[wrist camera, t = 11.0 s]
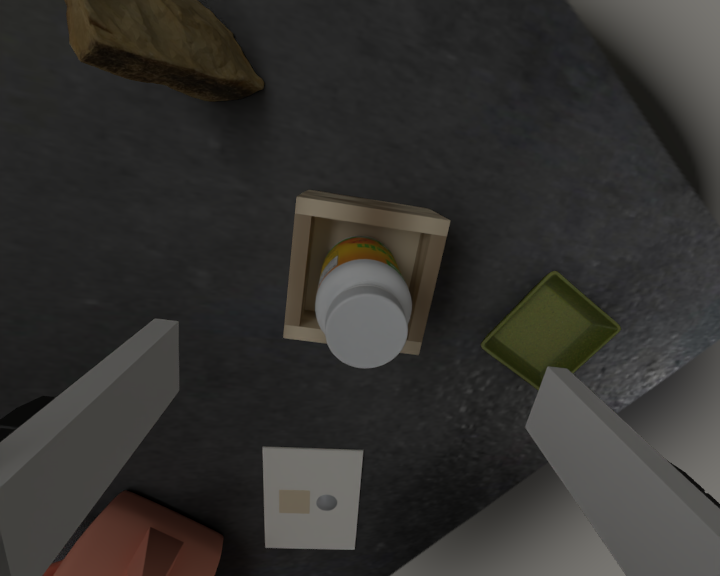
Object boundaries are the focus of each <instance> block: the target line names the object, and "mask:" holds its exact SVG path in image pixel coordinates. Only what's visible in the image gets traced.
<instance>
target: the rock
mask: <svg viewBox="0 0 720 576" xmlns="http://www.w3.org/2000/svg"><path fill="white" fill-rule="evenodd" d="M64 1H65V3H66V5H67V13H66V16H67V24H68V30H69V41H70V45H71V47H72V49H73V50H74V52H75V53H76V55H77V57H78V59H79V60H80V61H81V62H83V63H86V64H89V65H91V66H95V67H97V68H100V69H102V70H104V71H108V72H110V73H112V74H114V75H118V76H121V77H124V78H127V79H130V80H135V81H140V82H146V83H156V84H163V85H167V86H168V87H170V88H172V89H174V90H176V91H179V92H182V93H184V94H186V95H189V96H191V97H194V98H198V99H201V100H204V101H227V100H238V99H242V98H245V97H247V96H250V95H251V94H253V93H255V92H256V91H259V90H262V89H263V88H264V81H263V80H262V79H261V78H260V77H259V76H257V74H256V73H255V72H254V70H253V69H252V67H251V65H250V63H249V62H248V60H247V59H246V57H245V56H244V54H243V52H242V50H241V47H240V46H239V44H238V43H237V42H236V40H235V39H234V38H233V33H232V32H231V31H230V30H229V29H228V28H226V27H225V25H224V24H222V23H221V22H220V21H219V20H218V19H217V18H216V17H215V15H214V14H213V13H212V12H211V11H210V10H209V9H207V8H205V7H204V6H203V5H202V4H201V3H200V2H199V1H197V0H64Z"/></svg>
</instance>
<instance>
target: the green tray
mask: <svg viewBox="0 0 720 576" xmlns="http://www.w3.org/2000/svg"><path fill="white" fill-rule="evenodd" d="M620 330H621V327H620V325H619V324H617V323H616V322H615V321H614V320H613V319H612V318H611V317H609V316H608V315H607V314H606V313H605V312H604V311H602V310H601V309H600V308H599V307H598V306H596V305H595V304H594V303H593V302H592V301H591V300H589V299H588V298H587V297H586V296H585V295H584V294H583V293H582V292H580V291H579V290H578V289H577V288H576V287H575V286H573V285H572V284H571V283H570V282H569V281H568V280H566V278H564V277H563V276H562V275H561V274H560V273H558V272H557V271H552V272H550V273H549V274H547V275H546V276H545V277H544V278H543V279H542V280H541V281H540V282H539V283H538V284H537V285H536V286H535V287H534V288H533V289H532V290H531V291H530V292H529V293H528V294H527V295H526V296H525V297H524V298H523V299H522V300H521V301H520V302H519V304H518V305H517V306H516V307H515V308H514V309H513V310H512V311H511V312H510V313H509V314H508V315H507V316H506V317H505V318H504V319H503V320H502V321H501V322H500V323H499V324H498V325H497V326H496V327H495V328H494V329H493V330H492V331H491V332H490V333H489V334H488V335H487V336H486V337H485V338H484V340H483V341H482V343H481V347H482V349H483V350H485V351H486V352H487V353H488V354H490V355H491V356H493V357H494V358H495V359H497V360H498V361H499V362H501V363H502V364H504V365H505V366H506V367H508V368H509V369H510V370H512V371H513V372H515V373H516V374H517V375H518V376H520V377H521V378H522V379H524V380H525V381H526V382H528V383H529V384H530V385H532V386H533V387H534V388H536V389H537V390H538V391H539V388H540V385H541V383H542V380H543V377H544V375H545V372H546V369H547V367H548V366H549V367H558V368H566V369H568V370H569V371H570V372H571V373H572V374H573V373H574V372H575V371H576V370H577V369H579V368H580V367H581V366H582V365H583V364H584V363H585V362H586V361H588V360H589V359H590V358H591V357H592V356H593V355H594V354H595V353H596V352H598V351H599V350H600V349H601V348H602V347H603V346H604V345H605V344H606V343H608V342H609V341H610V340H611V339H612V338H613V337H614V336H615V335H616V334H617V333H619V332H620Z"/></svg>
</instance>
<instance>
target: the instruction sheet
mask: <svg viewBox="0 0 720 576" xmlns="http://www.w3.org/2000/svg"><path fill="white" fill-rule="evenodd" d="M362 461H363V450H350V449H321V448H292V447H264V446H263V483H264V520H265V548H297V549H343V550H355V540H356V529H357V517H358V506H359V495H360V483H361V472H362Z"/></svg>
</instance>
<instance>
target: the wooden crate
mask: <svg viewBox="0 0 720 576" xmlns="http://www.w3.org/2000/svg"><path fill="white" fill-rule="evenodd" d="M449 225H450V220H449V219H447V218H445V217H443V216H441V215H439V214H438V213H436V212H434V211H432V210H430V209H428V208H422V207H416V206H409V205H403V204H397V203H390V202H384V201H378V200H371V199H365V198H359V197H352V196H346V195H340V194H333V193H327V192H321V191H314V190H307V191H306V192H304V193H302V194H300V195H299V196H297V199H296V209H295V220H294V230H293V241H292V251H291V262H290V272H289V283H288V293H287V304H286V314H285V324H284V335H283V338H287V339H295V340H303V341H311V342H319V343H327V341H326V337H325V334H324V333H323V331H322V330H321V328H320V326H319V324H318V321H317V318H316V313H315V302H316V295H317V290H318V285H319V280H320V275H321V270H322V266H323V262H324V259H325V257H326V255H327V253H328V252H329V251H330V249H331V248H332V247H333V246H334V245H335V244H337V243H338V242H339V241H341V240H343V239H345V238H348V237H352V236H368V237H372V238H374V239H377V240H378V241H380V242H382V243H383V244H384V245H385V246H386V247H387V248H388V249H389V250H390V252H391V253H392V255H393V256H394V258H395V261H396V263H397V265H398V267H399V270H400V272H401V274H402V276H403V278H404V280H405V282H406V284H407V286H408V289H409V292H410V295H411V300H412V311H411V316H410V320H409V323H408V335H407V339H406V343H405V345H404V347H403V349H402V350H401V352H400V353H406V354H414V355H419V352H420V348H421V344H422V340H423V335H424V331H425V327H426V323H427V318H428V314H429V310H430V306H431V301H432V297H433V293H434V289H435V284H436V280H437V276H438V272H439V267H440V263H441V259H442V255H443V250H444V246H445V242H446V238H447V234H448V229H449Z"/></svg>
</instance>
